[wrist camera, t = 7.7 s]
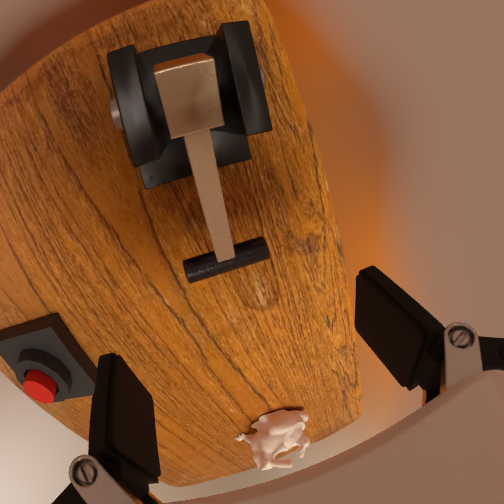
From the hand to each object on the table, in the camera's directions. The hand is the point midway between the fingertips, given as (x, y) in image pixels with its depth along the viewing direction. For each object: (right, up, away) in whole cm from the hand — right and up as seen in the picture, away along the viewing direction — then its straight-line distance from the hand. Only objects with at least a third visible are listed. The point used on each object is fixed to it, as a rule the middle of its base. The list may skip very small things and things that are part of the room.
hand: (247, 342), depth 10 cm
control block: (-22, -8, +14) cm, 27 cm away
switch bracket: (-5, +14, +8) cm, 17 cm away
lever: (-2, +7, +4) cm, 8 cm away
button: (-21, -10, +11) cm, 26 cm away
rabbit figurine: (+2, -22, +28) cm, 35 cm away
